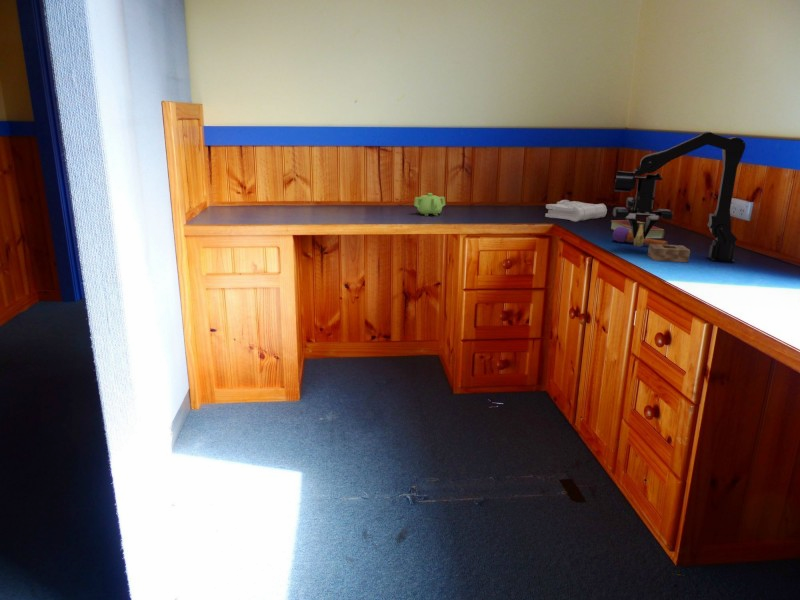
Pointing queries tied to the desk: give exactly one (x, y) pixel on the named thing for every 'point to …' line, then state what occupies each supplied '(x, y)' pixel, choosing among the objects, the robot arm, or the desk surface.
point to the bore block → (668, 253)
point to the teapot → (429, 204)
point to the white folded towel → (575, 210)
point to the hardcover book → (653, 232)
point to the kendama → (624, 235)
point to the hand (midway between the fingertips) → (639, 238)
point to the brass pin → (639, 234)
